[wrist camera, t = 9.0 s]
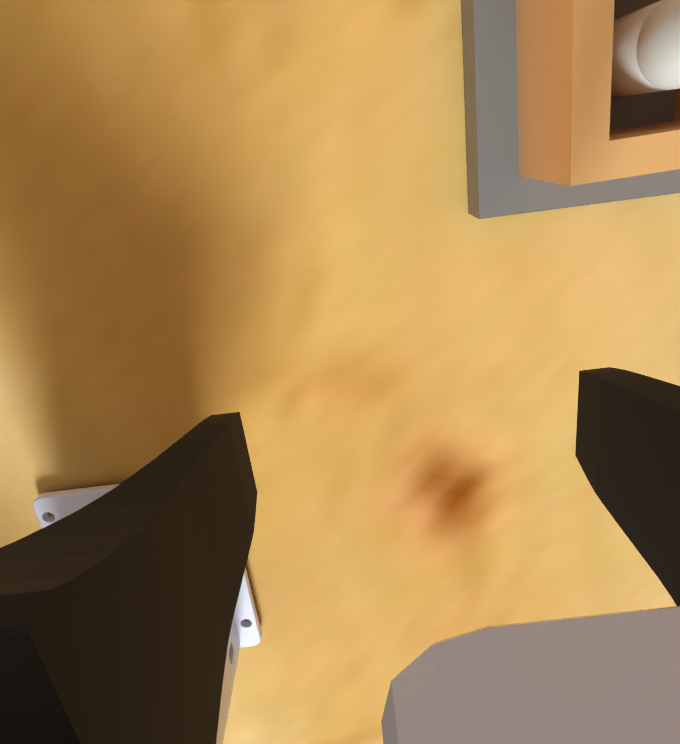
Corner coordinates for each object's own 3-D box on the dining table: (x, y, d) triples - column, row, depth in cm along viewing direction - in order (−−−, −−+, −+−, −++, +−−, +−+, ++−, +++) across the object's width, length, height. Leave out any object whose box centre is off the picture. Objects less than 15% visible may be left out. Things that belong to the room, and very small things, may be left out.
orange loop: (701, 147, 17) (803, 149, 13) (519, 176, 17) (570, 186, 14) (722, -75, 15) (852, -145, 11) (514, -39, 15) (574, -97, 11)
